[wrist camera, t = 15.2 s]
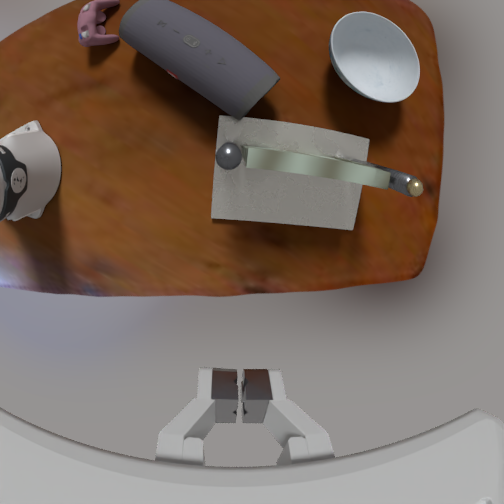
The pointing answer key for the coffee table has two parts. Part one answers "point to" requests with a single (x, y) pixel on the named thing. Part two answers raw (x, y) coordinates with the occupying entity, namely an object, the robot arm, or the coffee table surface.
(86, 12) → the video game controller
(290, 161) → the gate
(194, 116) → the coffee table surface
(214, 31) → the bluetooth speaker
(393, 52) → the chinaware
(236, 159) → the gate frame
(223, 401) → the robot arm
